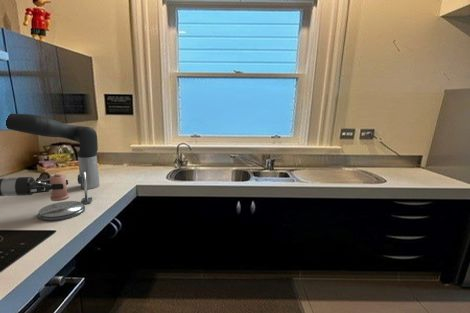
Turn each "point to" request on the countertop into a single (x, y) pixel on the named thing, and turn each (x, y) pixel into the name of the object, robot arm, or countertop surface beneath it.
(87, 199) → the dial gauge
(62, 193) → the cover
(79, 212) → the base
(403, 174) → the countertop surface
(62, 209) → the disc
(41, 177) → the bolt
